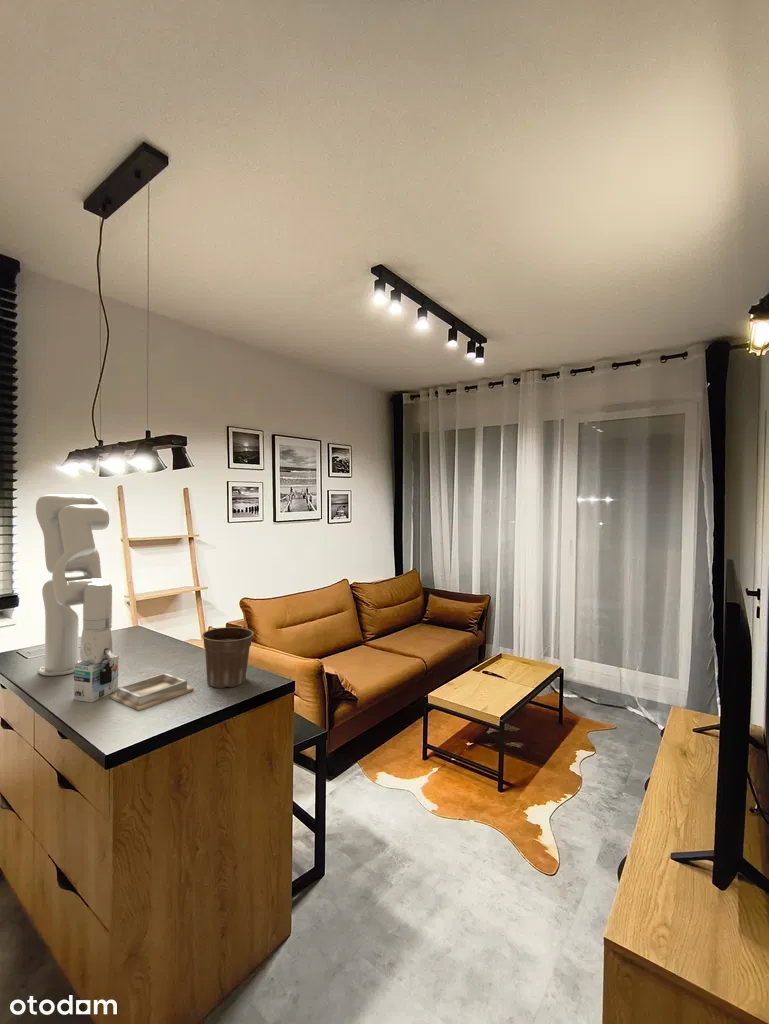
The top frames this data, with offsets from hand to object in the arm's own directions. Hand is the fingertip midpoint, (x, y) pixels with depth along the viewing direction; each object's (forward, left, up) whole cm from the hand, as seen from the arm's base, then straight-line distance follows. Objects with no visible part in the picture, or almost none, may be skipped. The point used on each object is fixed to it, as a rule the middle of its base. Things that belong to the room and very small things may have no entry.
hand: (97, 680), depth 147 cm
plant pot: (+23, +30, -5) cm, 38 cm away
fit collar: (+13, +10, -5) cm, 17 cm away
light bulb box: (0, 0, -5) cm, 5 cm away
